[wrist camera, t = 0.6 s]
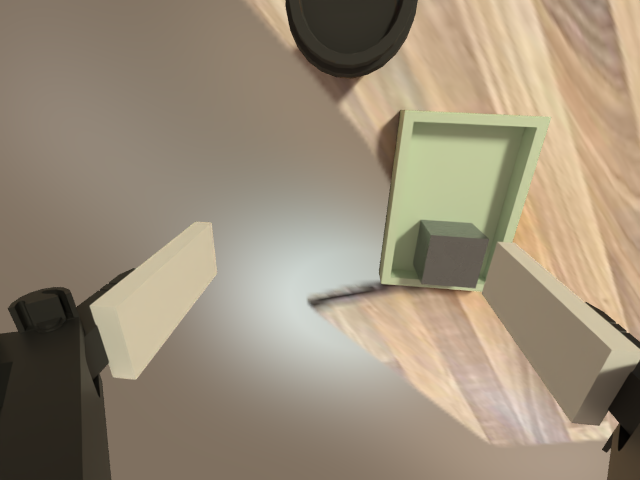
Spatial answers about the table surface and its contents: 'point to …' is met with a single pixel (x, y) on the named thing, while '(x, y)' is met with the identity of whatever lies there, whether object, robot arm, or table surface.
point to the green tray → (457, 182)
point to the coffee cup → (350, 32)
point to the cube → (449, 253)
